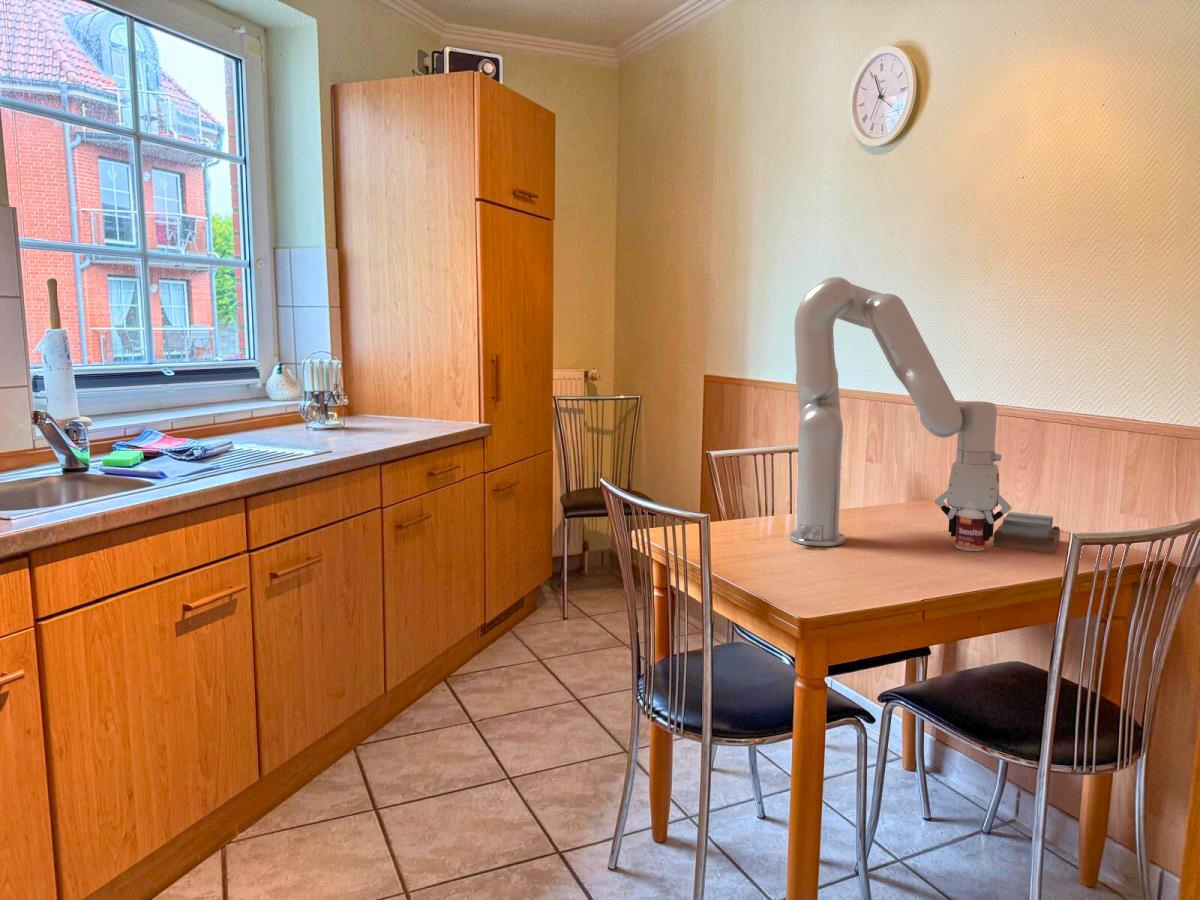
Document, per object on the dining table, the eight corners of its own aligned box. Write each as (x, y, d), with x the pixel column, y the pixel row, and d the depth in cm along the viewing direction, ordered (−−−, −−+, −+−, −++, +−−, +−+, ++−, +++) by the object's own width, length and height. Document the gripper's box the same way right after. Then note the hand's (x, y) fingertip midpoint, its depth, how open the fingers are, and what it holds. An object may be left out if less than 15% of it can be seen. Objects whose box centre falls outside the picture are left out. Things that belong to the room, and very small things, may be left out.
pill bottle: (954, 550, 180) (957, 501, 179) (953, 543, 186) (956, 496, 184) (985, 553, 178) (988, 503, 176) (984, 546, 184) (987, 498, 182)
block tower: (1053, 553, 177) (1055, 526, 176) (993, 545, 184) (994, 519, 183) (1059, 541, 187) (1061, 516, 186) (1001, 534, 194) (1003, 509, 193)
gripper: (1021, 458, 177) (1015, 539, 180) (937, 452, 187) (933, 529, 190) (1016, 463, 171) (1010, 547, 174) (929, 457, 181) (925, 536, 183)
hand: (970, 536), depth 182 cm, fingers closed on pill bottle, 6 cm apart
